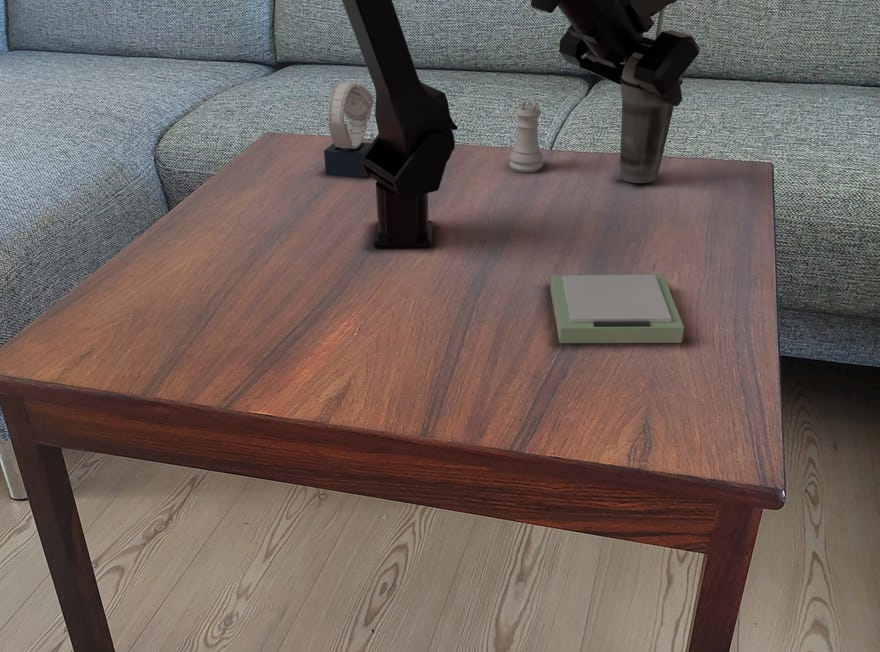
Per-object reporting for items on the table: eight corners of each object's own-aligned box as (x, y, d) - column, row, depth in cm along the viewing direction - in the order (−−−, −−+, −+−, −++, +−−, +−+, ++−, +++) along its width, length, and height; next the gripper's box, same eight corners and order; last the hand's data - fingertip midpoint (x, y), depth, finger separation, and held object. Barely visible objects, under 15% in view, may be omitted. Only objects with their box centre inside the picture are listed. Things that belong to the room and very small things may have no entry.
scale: (681, 343, 84) (685, 323, 83) (559, 343, 85) (561, 324, 84) (661, 288, 93) (663, 270, 92) (550, 289, 94) (551, 271, 93)
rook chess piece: (503, 171, 121) (505, 107, 116) (515, 160, 124) (517, 98, 120) (536, 175, 120) (540, 111, 115) (547, 164, 123) (551, 101, 118)
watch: (382, 162, 126) (378, 76, 119) (359, 182, 120) (354, 93, 113) (343, 158, 127) (337, 73, 121) (319, 178, 121) (312, 91, 115)
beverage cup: (664, 167, 119) (690, -6, 107) (672, 187, 114) (699, 7, 102) (606, 166, 120) (625, -5, 108) (611, 186, 114) (631, 8, 102)
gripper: (701, -49, 93) (761, 54, 103) (589, -70, 106) (652, 24, 117) (627, 45, 95) (694, 137, 105) (526, 14, 108) (594, 98, 119)
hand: (658, 95), depth 112 cm, fingers closed on beverage cup, 7 cm apart
